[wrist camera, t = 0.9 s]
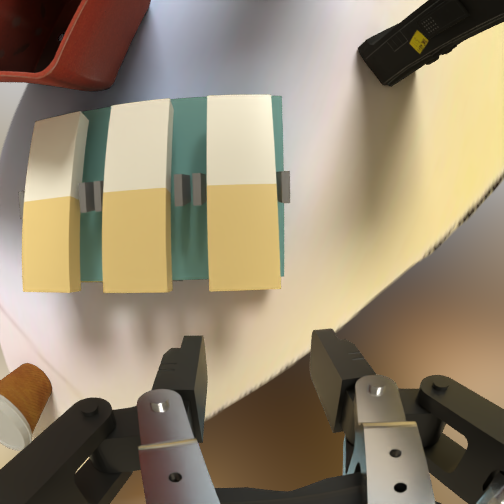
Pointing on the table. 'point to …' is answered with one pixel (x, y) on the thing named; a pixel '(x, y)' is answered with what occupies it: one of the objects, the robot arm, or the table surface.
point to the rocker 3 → (242, 194)
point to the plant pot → (67, 41)
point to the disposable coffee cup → (22, 404)
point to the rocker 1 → (53, 205)
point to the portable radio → (427, 36)
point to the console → (182, 189)
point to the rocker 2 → (138, 198)
